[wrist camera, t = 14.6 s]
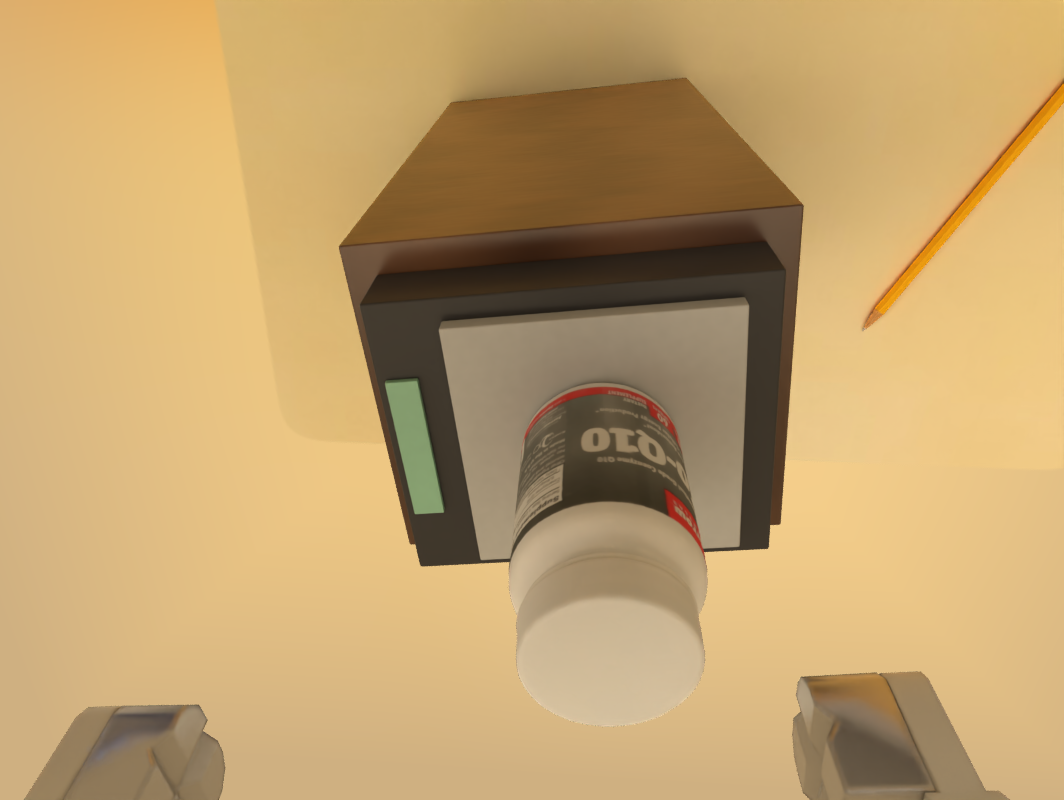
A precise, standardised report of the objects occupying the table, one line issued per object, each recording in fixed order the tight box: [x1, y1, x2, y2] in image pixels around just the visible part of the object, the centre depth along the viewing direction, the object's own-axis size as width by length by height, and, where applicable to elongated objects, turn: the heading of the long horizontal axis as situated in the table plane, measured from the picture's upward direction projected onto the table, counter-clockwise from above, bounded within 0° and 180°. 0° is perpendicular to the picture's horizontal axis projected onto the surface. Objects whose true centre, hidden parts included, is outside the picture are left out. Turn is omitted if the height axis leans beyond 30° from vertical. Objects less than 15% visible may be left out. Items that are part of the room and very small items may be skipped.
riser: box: [339, 78, 804, 544], centre depth 37 cm, size 14×12×26 cm
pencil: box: [862, 83, 1064, 331], centre depth 48 cm, size 1×19×1 cm, turn 151°
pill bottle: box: [509, 383, 707, 727], centre depth 20 cm, size 5×5×8 cm
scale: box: [360, 242, 786, 566], centre depth 25 cm, size 12×10×3 cm
